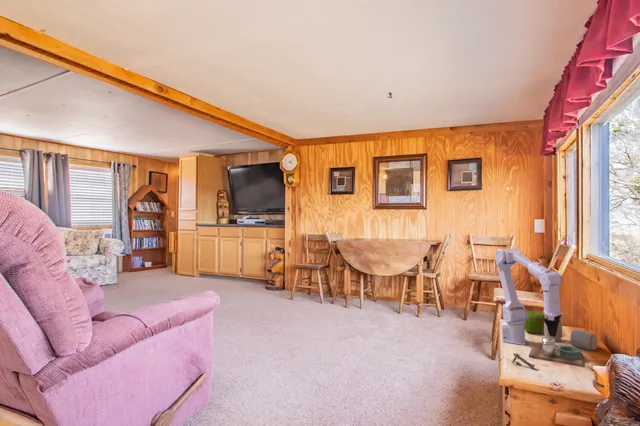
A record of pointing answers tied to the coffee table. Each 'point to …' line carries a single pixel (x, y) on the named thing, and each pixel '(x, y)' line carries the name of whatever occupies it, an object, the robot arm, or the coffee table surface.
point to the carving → (558, 334)
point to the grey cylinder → (583, 339)
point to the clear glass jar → (548, 347)
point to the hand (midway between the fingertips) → (553, 333)
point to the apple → (534, 322)
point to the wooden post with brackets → (522, 361)
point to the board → (559, 355)
